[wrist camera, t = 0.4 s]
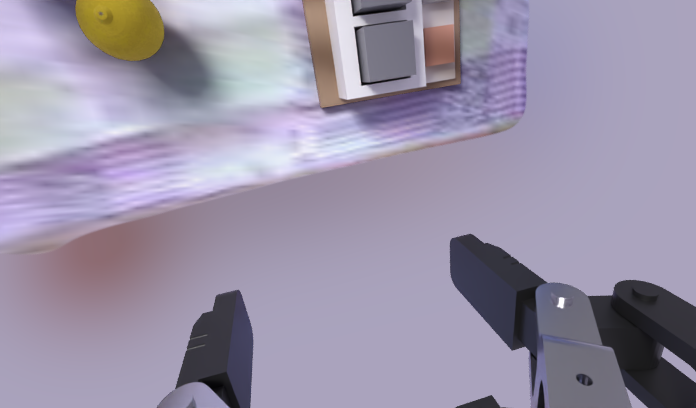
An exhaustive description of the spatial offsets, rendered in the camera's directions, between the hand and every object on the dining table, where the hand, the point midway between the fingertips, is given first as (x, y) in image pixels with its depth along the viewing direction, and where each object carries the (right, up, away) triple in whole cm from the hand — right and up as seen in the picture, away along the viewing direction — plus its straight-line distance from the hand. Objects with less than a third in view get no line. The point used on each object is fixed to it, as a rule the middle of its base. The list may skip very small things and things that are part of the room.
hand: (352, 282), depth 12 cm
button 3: (+3, +18, +20) cm, 27 cm away
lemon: (-19, +19, +18) cm, 32 cm away
